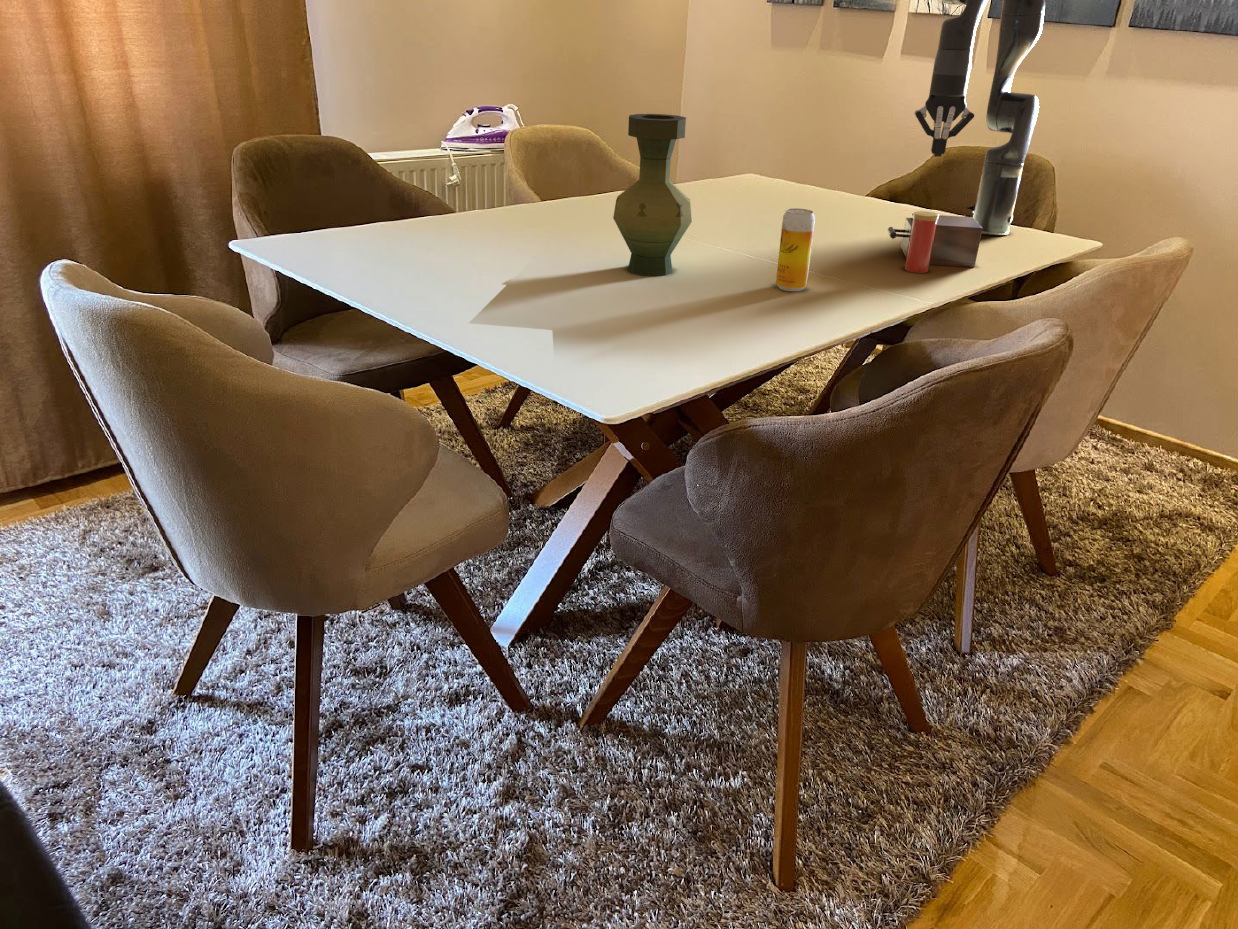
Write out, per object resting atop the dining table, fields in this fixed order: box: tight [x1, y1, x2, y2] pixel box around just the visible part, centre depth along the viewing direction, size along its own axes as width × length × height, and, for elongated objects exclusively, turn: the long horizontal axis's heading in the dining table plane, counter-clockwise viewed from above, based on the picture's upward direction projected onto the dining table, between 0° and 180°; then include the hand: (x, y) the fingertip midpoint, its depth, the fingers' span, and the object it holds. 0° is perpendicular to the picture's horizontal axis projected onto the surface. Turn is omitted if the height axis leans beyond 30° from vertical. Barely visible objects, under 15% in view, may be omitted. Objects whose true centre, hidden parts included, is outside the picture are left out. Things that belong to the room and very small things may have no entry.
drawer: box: [887, 217, 913, 259], centre depth 208 cm, size 16×10×7 cm, turn 81°
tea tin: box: [904, 210, 940, 274], centre depth 197 cm, size 5×5×12 cm
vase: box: [612, 113, 693, 277], centre depth 186 cm, size 16×16×30 cm
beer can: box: [775, 207, 816, 292], centre depth 180 cm, size 6×6×15 cm
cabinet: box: [910, 213, 983, 268], centre depth 207 cm, size 14×12×9 cm
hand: (937, 155), depth 206 cm, fingers closed
